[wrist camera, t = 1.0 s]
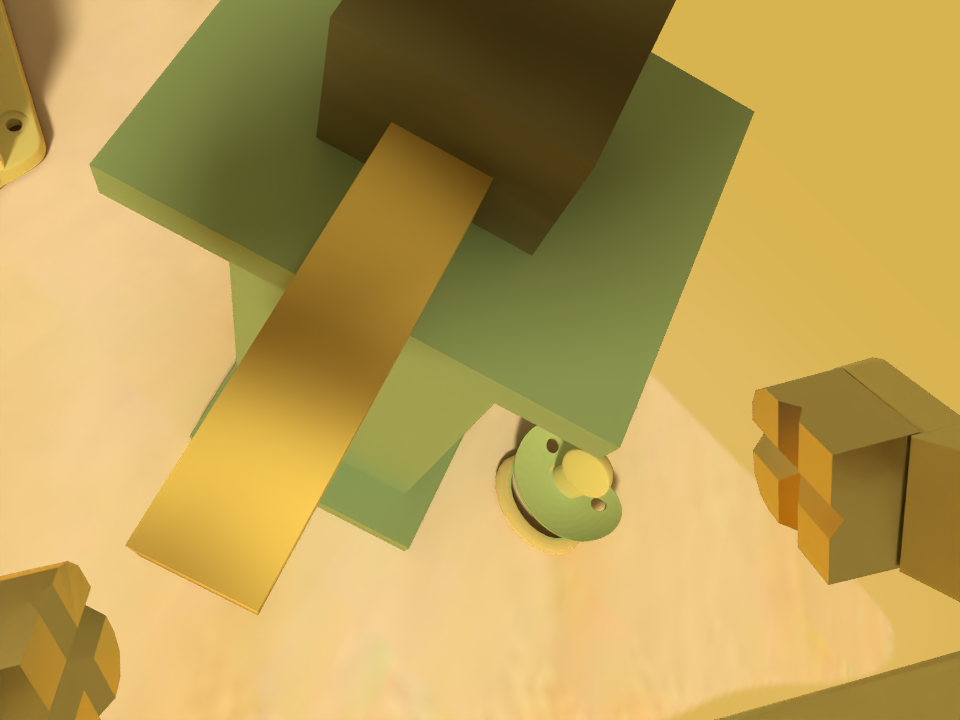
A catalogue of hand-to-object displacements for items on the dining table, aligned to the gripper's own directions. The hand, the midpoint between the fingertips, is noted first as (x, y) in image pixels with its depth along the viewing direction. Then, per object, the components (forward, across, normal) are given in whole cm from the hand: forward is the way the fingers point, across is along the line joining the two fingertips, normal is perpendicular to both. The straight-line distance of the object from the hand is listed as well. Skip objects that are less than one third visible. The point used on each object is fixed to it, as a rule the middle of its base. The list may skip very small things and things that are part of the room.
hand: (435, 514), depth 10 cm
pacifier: (+32, -6, +25) cm, 41 cm away
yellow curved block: (+14, 0, +2) cm, 14 cm away
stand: (+36, +3, +17) cm, 40 cm away
